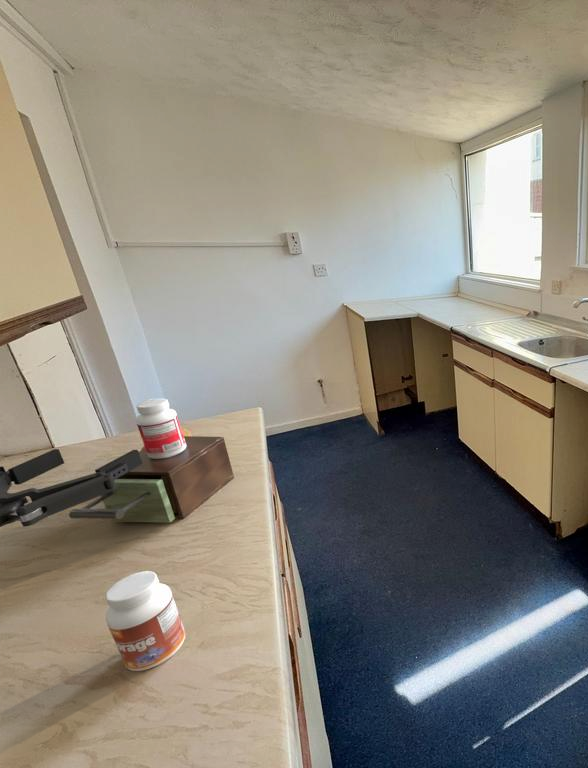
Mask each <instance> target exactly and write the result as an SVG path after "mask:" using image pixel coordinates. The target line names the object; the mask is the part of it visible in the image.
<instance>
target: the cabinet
mask: <svg viewBox="0 0 588 768" xmlns="http://www.w3.org/2000/svg"><path fill="white" fill-rule="evenodd" d="M184 439H185V442H186V449H185V450H184V451H182V452H181V453H179V454H177V455H175V456H172V457H168V458H163V459H152V458H150V457H148V455H147V452H146V449H143V450H141V449H140V450H138V452H139V455H140V457H141V460H142V463H143V464H141V465H140V466H138V467H136V468H134V469H133V470H131V471H129V472H128V473H126V474H124V475H159V476H166V478H167V481H168V484H169V487H170V490H171V493H172V496H173V499H174V502H175V505H176V508H177V511H178V512H177V513H174V516H175V519H174V520H184V519H186V518H187V517H188V516H190V515H191V514H192V513H193V512H194V511H196V510H197V509H198V508H199V507H200V506H202V505H203V504H204V503H205V502H207V501H208V500H209V499H210V498H212V497H213V496H214V495H215V494H217V493H218V492H219V491H220V490H221V489H222V488H224V487H225V486H226V485H228V483H230V482H231V481H232V480H234V478H235V475H234V472H233V468H232V464H231V460H230V457H229V453H228V448H227V445H226V441H225V438H224V436H202V435H201V436H198V435H197V436H196V435H195V436H193V435H192V436H184Z"/></svg>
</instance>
